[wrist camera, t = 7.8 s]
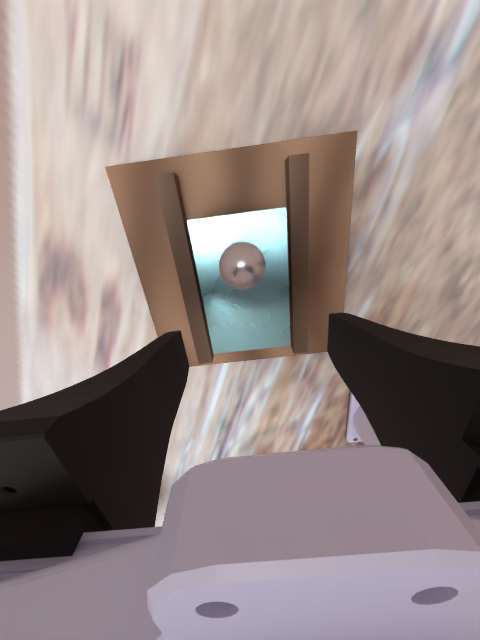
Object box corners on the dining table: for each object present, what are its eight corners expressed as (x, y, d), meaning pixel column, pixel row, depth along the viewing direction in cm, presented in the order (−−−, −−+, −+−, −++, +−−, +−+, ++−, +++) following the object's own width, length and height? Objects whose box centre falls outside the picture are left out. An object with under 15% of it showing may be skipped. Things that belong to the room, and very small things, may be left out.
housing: (277, 314, 19) (293, 352, 14) (218, 321, 19) (212, 361, 14) (271, 209, 16) (289, 206, 11) (200, 218, 16) (183, 220, 11)
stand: (346, 138, 15) (367, 123, 13) (334, 341, 22) (346, 357, 20) (116, 171, 16) (94, 163, 14) (172, 359, 23) (164, 377, 20)
